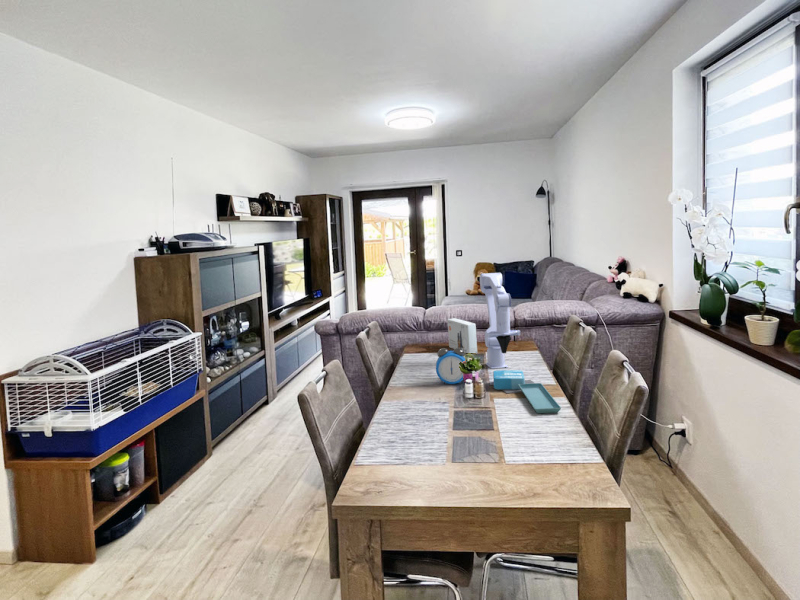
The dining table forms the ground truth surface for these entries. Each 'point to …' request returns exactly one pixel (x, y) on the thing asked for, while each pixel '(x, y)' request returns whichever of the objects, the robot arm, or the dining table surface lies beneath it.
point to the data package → (508, 379)
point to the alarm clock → (450, 365)
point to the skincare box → (462, 335)
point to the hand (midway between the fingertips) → (503, 352)
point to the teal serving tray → (539, 398)
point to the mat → (516, 389)
